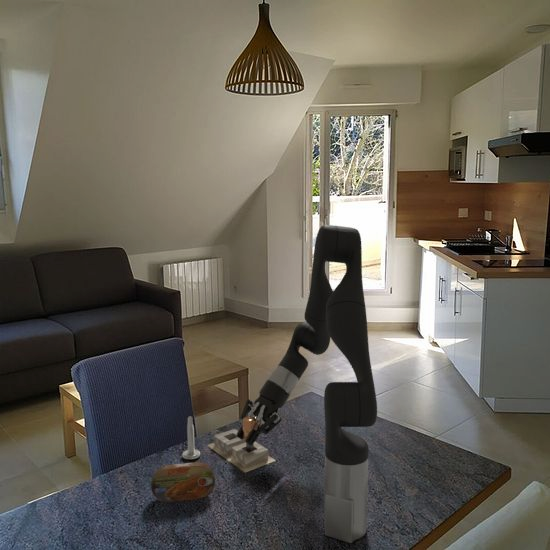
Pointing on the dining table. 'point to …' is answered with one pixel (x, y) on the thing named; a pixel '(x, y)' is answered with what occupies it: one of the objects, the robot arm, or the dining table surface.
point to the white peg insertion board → (240, 451)
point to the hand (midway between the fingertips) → (243, 440)
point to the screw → (190, 442)
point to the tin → (183, 482)
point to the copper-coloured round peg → (248, 431)
